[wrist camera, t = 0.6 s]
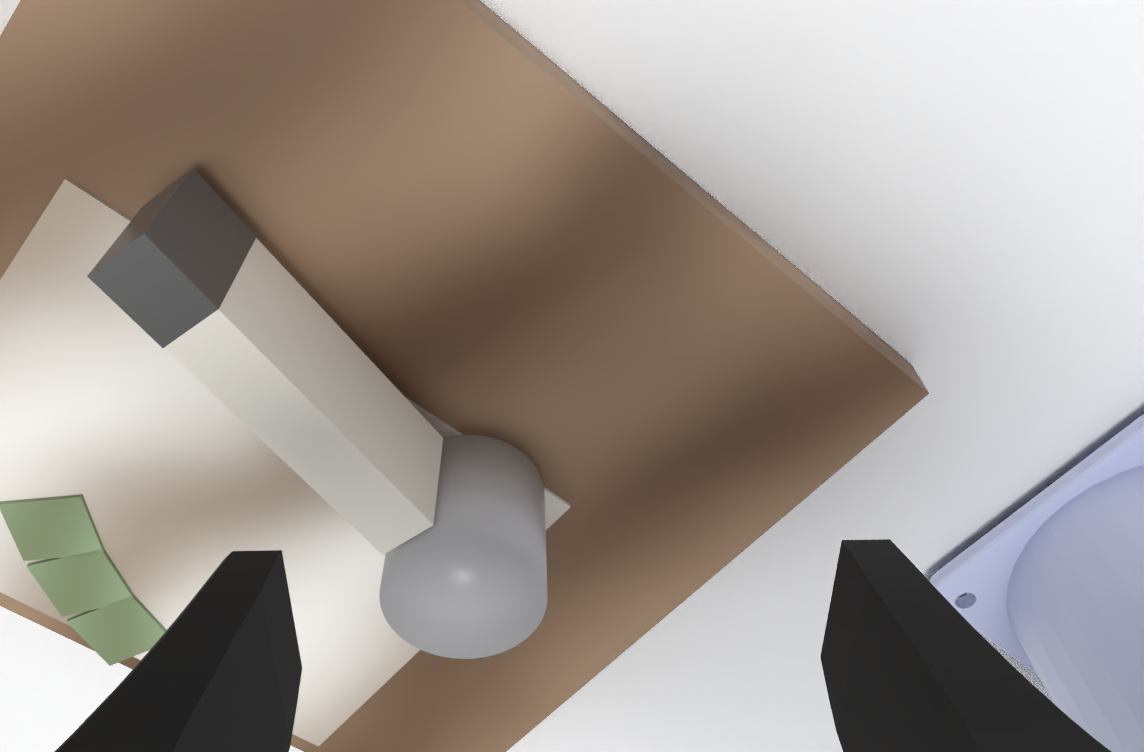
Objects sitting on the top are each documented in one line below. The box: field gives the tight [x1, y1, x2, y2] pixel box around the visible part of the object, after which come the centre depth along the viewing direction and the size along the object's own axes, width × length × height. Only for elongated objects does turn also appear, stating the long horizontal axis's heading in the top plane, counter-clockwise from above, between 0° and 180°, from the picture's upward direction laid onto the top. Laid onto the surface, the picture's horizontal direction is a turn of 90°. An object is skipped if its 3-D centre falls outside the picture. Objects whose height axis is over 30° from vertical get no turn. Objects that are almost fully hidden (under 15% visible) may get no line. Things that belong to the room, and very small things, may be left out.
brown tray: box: [0, 0, 929, 752], centre depth 23 cm, size 18×18×1 cm
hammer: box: [87, 168, 548, 659], centre depth 20 cm, size 10×3×3 cm, turn 35°
